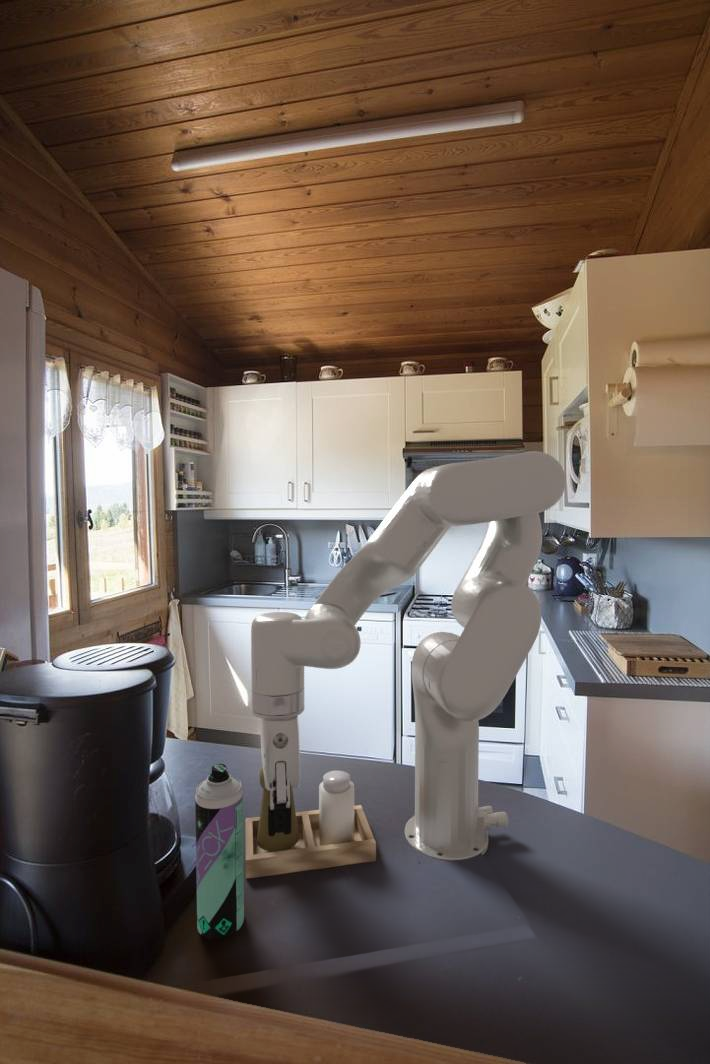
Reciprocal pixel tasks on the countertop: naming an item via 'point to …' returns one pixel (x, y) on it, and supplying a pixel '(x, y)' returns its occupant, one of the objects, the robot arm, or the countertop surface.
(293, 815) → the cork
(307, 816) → the caddy
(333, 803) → the salt shaker
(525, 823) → the countertop surface
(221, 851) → the spray can
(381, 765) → the countertop surface
